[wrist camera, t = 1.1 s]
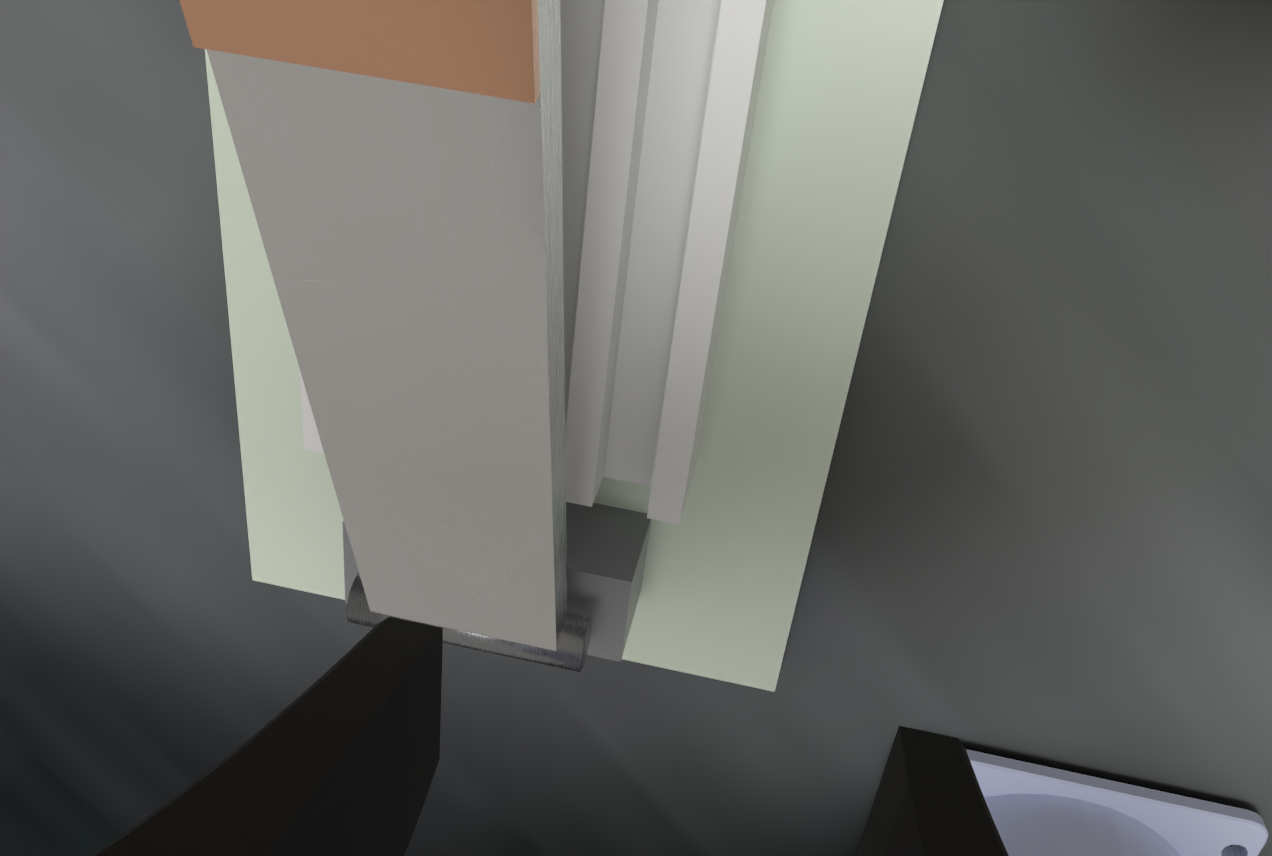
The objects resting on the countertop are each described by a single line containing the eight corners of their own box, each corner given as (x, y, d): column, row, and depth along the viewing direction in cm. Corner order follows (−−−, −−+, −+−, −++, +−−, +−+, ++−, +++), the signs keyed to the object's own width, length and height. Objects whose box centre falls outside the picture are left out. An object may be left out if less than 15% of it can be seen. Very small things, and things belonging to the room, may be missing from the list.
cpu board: (777, 666, 25) (762, 800, 22) (268, 559, 26) (183, 670, 23) (1008, -287, 15) (1043, -300, 12) (193, -388, 17) (30, -426, 13)
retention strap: (592, 633, 21) (578, 686, 20) (370, 586, 22) (349, 636, 21) (610, -154, 10) (580, -97, 9) (143, -220, 10) (83, -169, 10)
